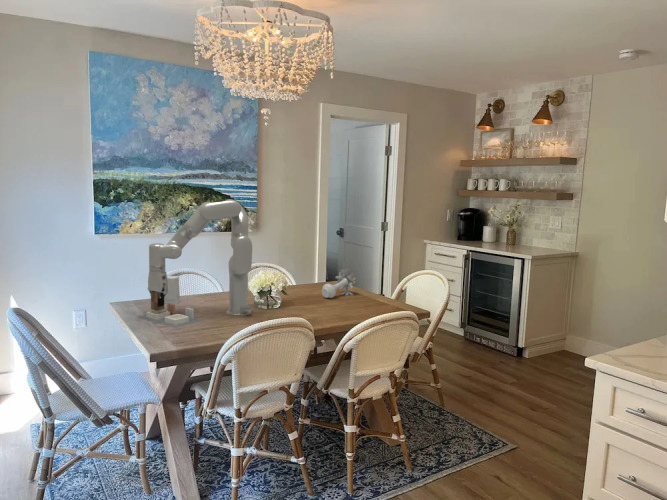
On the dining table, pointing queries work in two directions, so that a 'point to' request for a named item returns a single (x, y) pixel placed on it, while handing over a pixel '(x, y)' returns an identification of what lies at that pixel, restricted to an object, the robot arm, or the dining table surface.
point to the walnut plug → (155, 301)
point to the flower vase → (339, 284)
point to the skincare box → (172, 290)
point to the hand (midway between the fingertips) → (157, 304)
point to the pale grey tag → (190, 313)
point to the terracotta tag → (171, 308)
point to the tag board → (169, 318)
